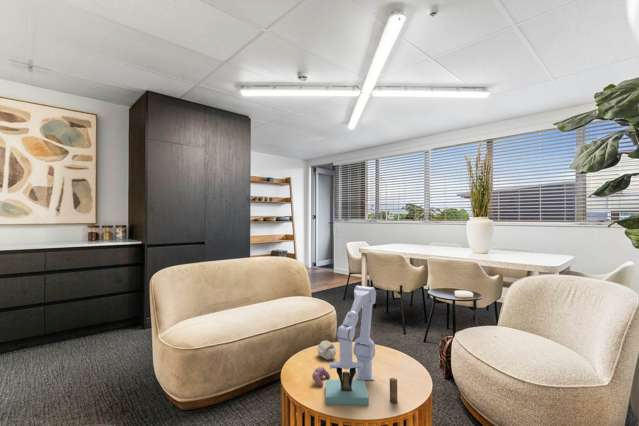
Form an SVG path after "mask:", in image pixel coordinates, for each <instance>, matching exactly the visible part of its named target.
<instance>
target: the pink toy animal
mask: <svg viewBox="0 0 639 426" xmlns="http://www.w3.org/2000/svg"><path fill="white" fill-rule="evenodd" d="M311 377H312V380H313V381H314V382H315V383H316V385H317V386H319V387H321V388H322V387H323V386H324V383H323V379H324V377H325V378H326V379H330V378H331V375H330V373H329V372H328V371H327V370H326V368H324V367H323V366H319V367H317V368H315V369H314V371H313V373H312V375H311Z"/></svg>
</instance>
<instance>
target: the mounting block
mask: <svg viewBox="0 0 639 426" xmlns="http://www.w3.org/2000/svg"><path fill="white" fill-rule="evenodd" d="M342 382H343V380H342ZM368 394H369V393H368V390H367V384H366V380H357V379H353V380H352V385H351V386H350V390H349V391H343V386H341V382H340V379H325V405H336V406H337V405H340V406H341V405H343V406H347V405H348V406H369V404H370V403H369V402H370V401H369V400H370V399H369V395H368Z"/></svg>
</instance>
